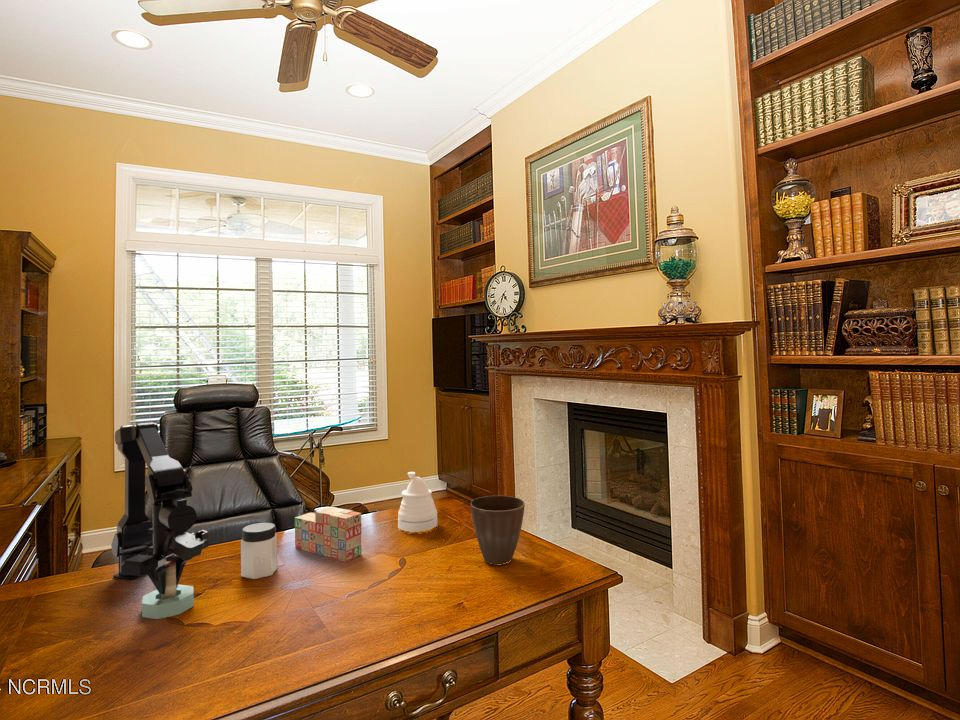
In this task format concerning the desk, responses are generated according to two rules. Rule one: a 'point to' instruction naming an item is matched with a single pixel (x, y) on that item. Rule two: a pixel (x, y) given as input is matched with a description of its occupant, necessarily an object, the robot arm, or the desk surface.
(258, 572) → the jar
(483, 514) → the plant pot
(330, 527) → the stack of blocks
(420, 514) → the honey pot
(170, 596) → the beige cylindrical peg
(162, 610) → the bead
